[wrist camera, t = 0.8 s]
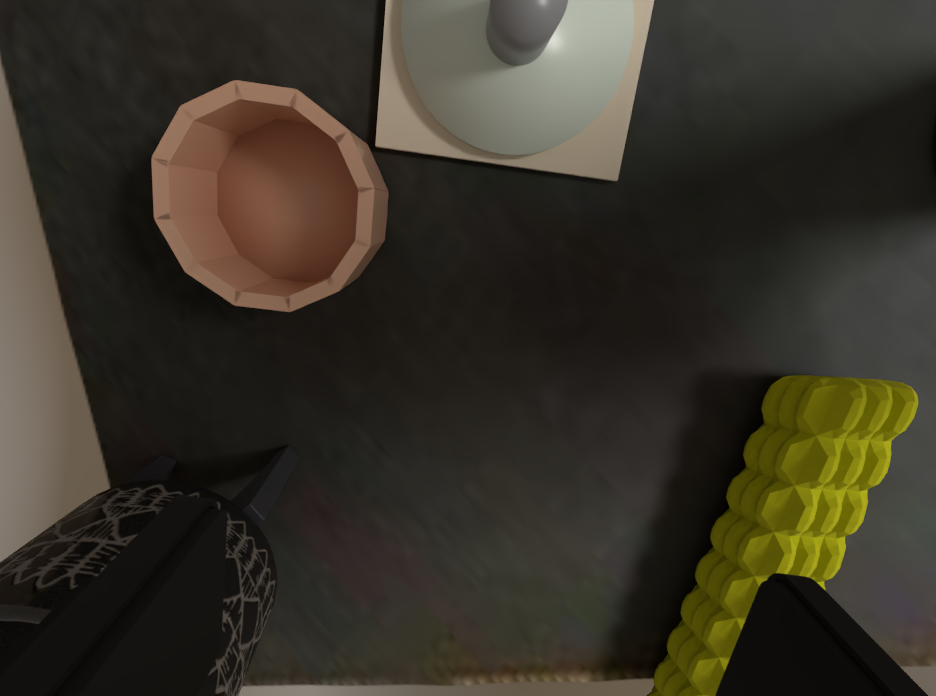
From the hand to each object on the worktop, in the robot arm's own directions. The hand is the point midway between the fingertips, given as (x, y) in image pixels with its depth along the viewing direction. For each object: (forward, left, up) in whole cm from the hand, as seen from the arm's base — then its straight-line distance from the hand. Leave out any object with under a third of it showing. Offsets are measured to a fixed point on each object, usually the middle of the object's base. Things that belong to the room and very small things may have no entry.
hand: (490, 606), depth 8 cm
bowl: (+11, -6, -25) cm, 28 cm away
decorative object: (-24, +16, -26) cm, 39 cm away
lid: (-1, -17, -25) cm, 30 cm away
